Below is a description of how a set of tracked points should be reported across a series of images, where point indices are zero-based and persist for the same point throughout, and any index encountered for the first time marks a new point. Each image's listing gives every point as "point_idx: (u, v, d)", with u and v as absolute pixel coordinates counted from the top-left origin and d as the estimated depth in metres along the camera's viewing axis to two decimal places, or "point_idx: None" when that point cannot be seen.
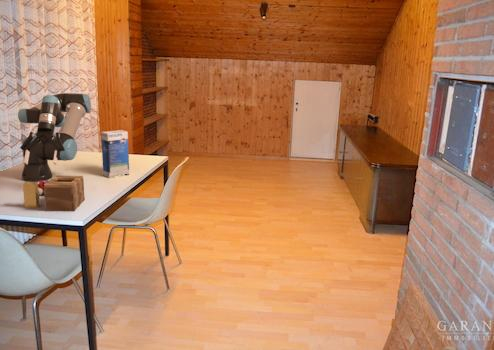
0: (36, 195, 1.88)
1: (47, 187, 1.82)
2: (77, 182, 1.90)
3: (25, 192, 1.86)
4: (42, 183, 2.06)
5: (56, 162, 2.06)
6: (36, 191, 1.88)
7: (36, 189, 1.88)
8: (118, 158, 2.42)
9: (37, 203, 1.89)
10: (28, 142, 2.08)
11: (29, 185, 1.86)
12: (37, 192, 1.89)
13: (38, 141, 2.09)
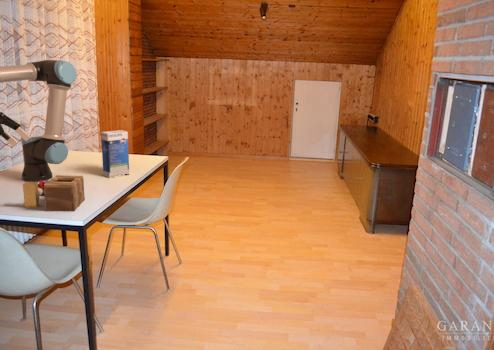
0: (36, 195, 1.88)
1: (47, 187, 1.82)
2: (77, 182, 1.90)
3: (25, 192, 1.86)
4: (42, 183, 2.06)
5: (14, 141, 1.83)
6: (36, 191, 1.88)
7: (36, 189, 1.88)
8: (118, 158, 2.42)
9: (37, 203, 1.89)
10: None
11: (29, 185, 1.86)
12: (37, 192, 1.89)
13: (4, 120, 1.90)
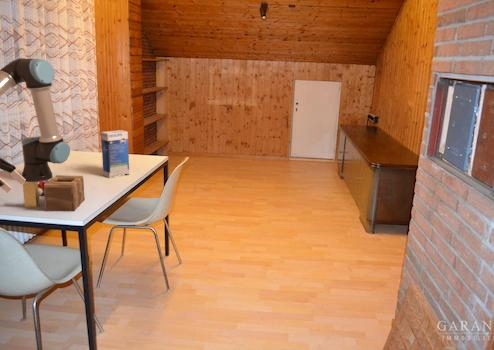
0: (36, 195, 1.88)
1: (47, 187, 1.82)
2: (77, 182, 1.90)
3: (25, 192, 1.86)
4: (42, 183, 2.06)
5: (8, 187, 1.78)
6: (36, 191, 1.88)
7: (36, 189, 1.88)
8: (118, 158, 2.42)
9: (37, 203, 1.89)
10: None
11: (29, 185, 1.86)
12: (37, 192, 1.89)
13: None
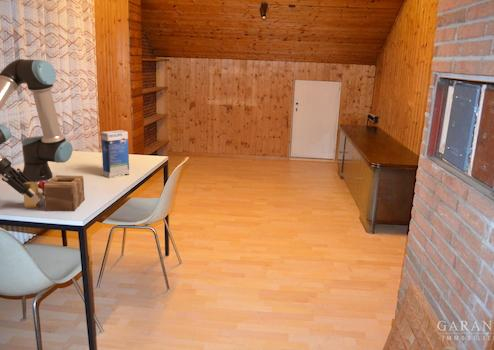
0: None
1: (47, 187, 1.82)
2: (77, 182, 1.90)
3: None
4: (42, 183, 2.05)
5: (38, 198, 1.87)
6: (36, 191, 1.88)
7: (36, 189, 1.88)
8: (118, 158, 2.42)
9: (37, 203, 1.89)
10: None
11: (29, 185, 1.86)
12: (37, 192, 1.89)
13: (18, 176, 1.87)
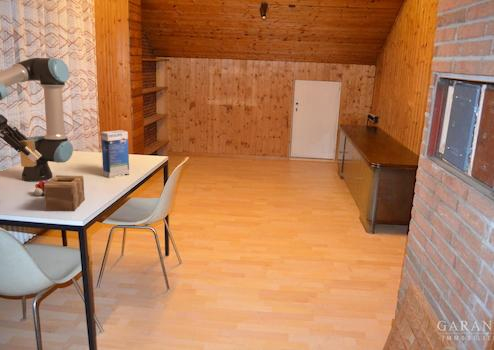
0: None
1: (47, 187, 1.82)
2: (77, 182, 1.90)
3: None
4: (42, 183, 2.05)
5: (34, 157, 1.82)
6: (33, 149, 1.83)
7: (33, 147, 1.83)
8: (118, 158, 2.42)
9: (34, 162, 1.84)
10: None
11: (25, 143, 1.81)
12: (34, 151, 1.84)
13: (14, 134, 1.82)
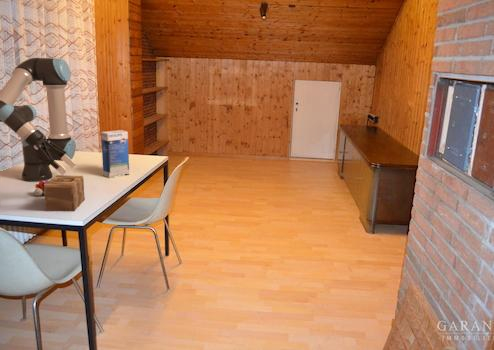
0: None
1: (47, 187, 1.82)
2: (77, 182, 1.90)
3: None
4: (42, 183, 2.05)
5: (64, 170, 1.82)
6: None
7: None
8: (118, 158, 2.42)
9: None
10: None
11: None
12: None
13: (50, 147, 1.88)
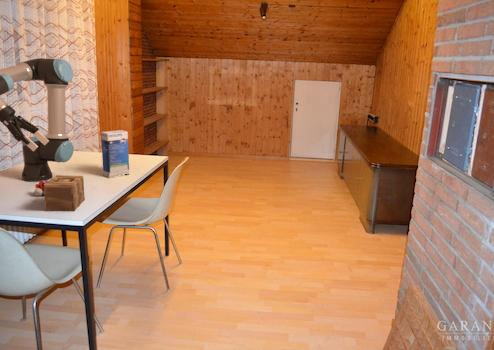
0: None
1: (47, 187, 1.82)
2: (77, 182, 1.90)
3: None
4: (42, 183, 2.05)
5: (34, 146, 1.78)
6: None
7: None
8: (118, 158, 2.42)
9: None
10: (27, 125, 1.90)
11: None
12: None
13: (22, 124, 1.85)
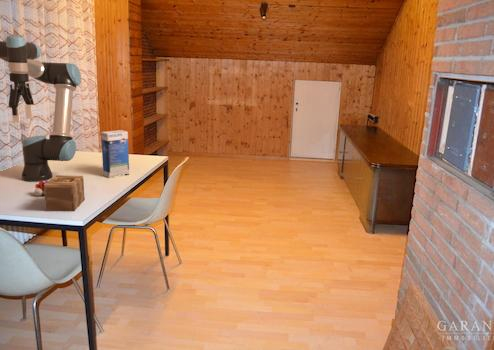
0: None
1: (47, 187, 1.82)
2: (77, 182, 1.90)
3: None
4: (42, 183, 2.05)
5: (18, 120, 1.85)
6: None
7: None
8: (118, 158, 2.42)
9: None
10: (27, 94, 1.97)
11: None
12: None
13: (24, 93, 1.92)
